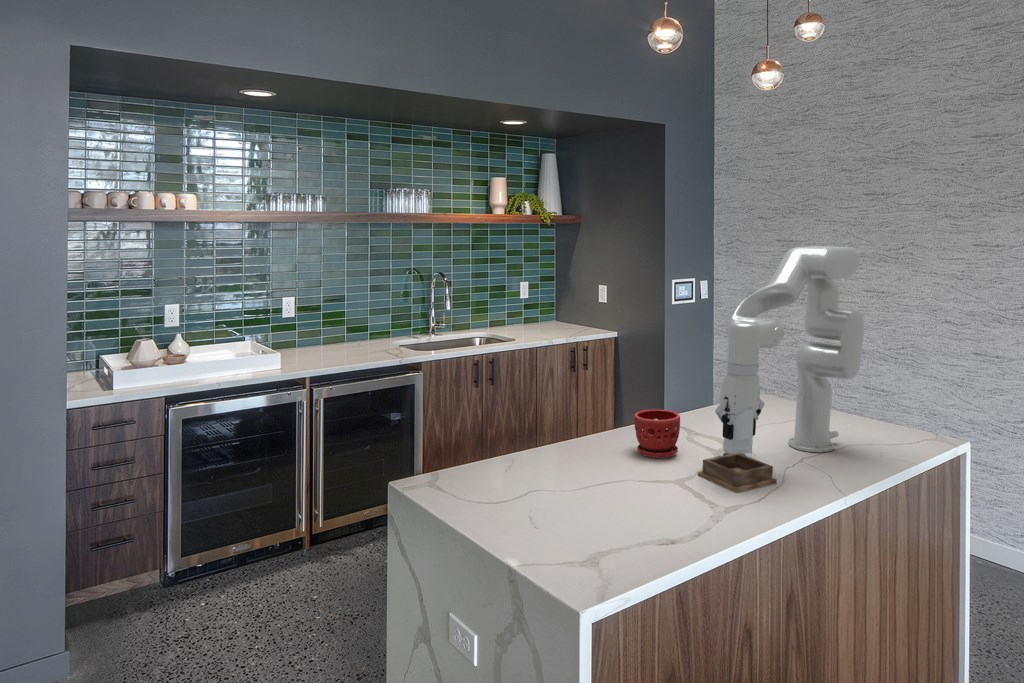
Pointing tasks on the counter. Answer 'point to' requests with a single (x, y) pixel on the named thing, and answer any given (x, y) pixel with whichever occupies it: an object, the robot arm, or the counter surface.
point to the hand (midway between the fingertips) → (738, 435)
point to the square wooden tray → (737, 472)
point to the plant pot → (657, 432)
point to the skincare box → (741, 433)
